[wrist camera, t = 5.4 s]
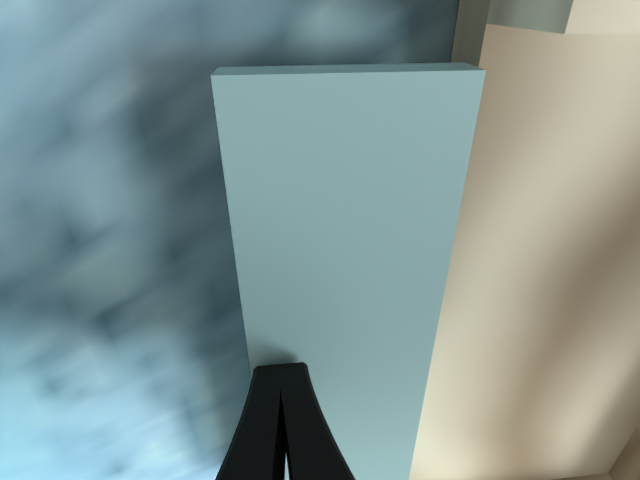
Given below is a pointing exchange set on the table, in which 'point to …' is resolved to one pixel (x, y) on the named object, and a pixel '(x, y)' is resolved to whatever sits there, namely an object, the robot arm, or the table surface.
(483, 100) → the beige tray
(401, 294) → the tailgate
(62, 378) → the table surface
